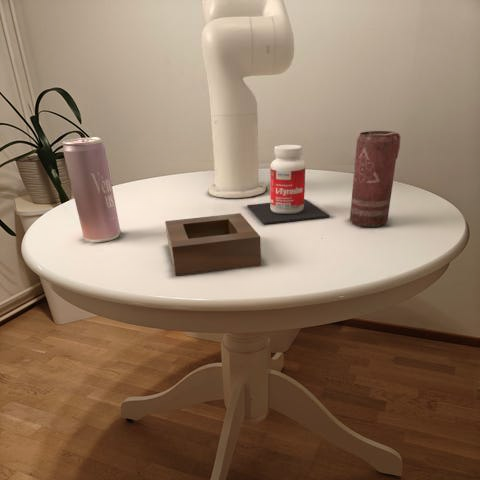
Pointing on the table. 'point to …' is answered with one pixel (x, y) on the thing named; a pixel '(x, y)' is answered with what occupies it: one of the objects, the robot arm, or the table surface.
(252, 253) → the holder
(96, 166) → the beverage can
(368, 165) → the can
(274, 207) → the pill bottle
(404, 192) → the table surface
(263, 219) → the coaster
